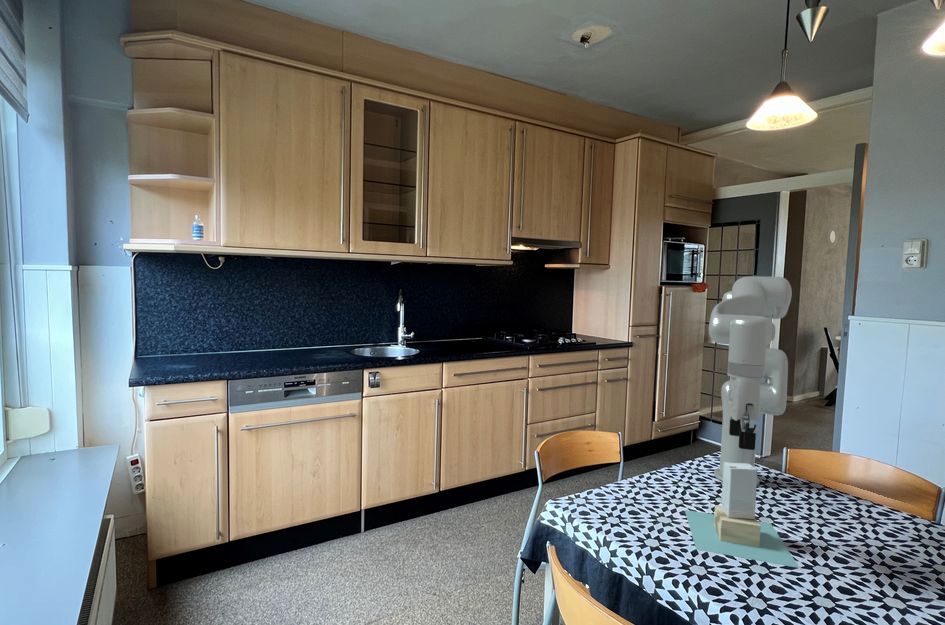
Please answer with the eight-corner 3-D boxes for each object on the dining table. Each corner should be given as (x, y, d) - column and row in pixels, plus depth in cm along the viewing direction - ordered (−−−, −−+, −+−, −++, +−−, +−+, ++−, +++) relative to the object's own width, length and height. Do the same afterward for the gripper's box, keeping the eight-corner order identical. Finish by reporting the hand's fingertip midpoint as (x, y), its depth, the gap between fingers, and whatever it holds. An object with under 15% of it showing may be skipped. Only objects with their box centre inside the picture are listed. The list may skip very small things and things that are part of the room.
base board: (684, 514, 125) (684, 509, 124) (770, 527, 119) (770, 523, 118) (695, 554, 105) (696, 549, 105) (799, 573, 100) (799, 567, 99)
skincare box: (746, 511, 114) (749, 462, 113) (755, 520, 109) (759, 469, 109) (719, 509, 114) (722, 460, 114) (727, 518, 110) (731, 467, 109)
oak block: (713, 524, 117) (715, 505, 117) (750, 530, 115) (751, 510, 114) (720, 540, 109) (721, 519, 109) (759, 547, 107) (760, 526, 107)
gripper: (720, 363, 119) (716, 429, 120) (736, 376, 103) (731, 452, 104) (753, 365, 117) (749, 433, 118) (775, 379, 101) (770, 457, 102)
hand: (741, 442), depth 111 cm, fingers open, 9 cm apart
